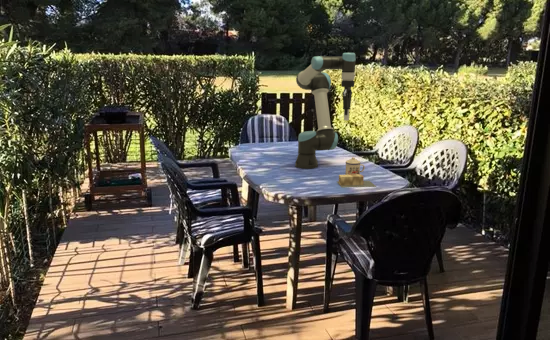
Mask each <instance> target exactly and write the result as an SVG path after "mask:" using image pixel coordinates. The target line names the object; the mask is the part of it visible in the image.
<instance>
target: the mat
mask: <svg viewBox="0 0 550 340" xmlns="http://www.w3.org/2000/svg"><path fill="white" fill-rule="evenodd" d="M336 183H337V184H338V186H340V187H341V188H342V189H345V188H377V185H375V183H373V182H372V181H370V180H363V185H347V186H341V185H340V184H339V180H338V181H336Z"/></svg>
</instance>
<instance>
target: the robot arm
mask: <svg viewBox="0 0 550 340" xmlns="http://www.w3.org/2000/svg"><path fill="white" fill-rule="evenodd" d="M356 59H357V58H356V53H355V52H343V53H342V55H341V56H324V55H323V56H322V55H320V56H319V55H317V56H312V58H311V61H310V65H309V66H307V67H306V68H305V69H304V70H302V71H299V73H297V74H296V77H295V78H296V79H295V80H296V81H295V82H296V84H297V86H298V88H300V89H302V90H306V91H311V94H312V95H314V102H315V103H314V104H315V113H316V120H317V122H316V123H317V128H318V129H317V130H316V131H315V130H308V131H307V130H306V131H301V132H300V133H299V134H298V137H297V138H298V139H297V140H298V143H297V145H298V146H297V147H298V148H297V157H296V161H295V163H294V164H295V168H298V169H307V170H309V169H316V168H318V165H319V164H318V163H319V162H318V159H317V156H316V152H317V151H331V150H335V149H336V147H337V146H338V142H339V136H338V133H337V132H336V131H334V128H333V127H332V126H331V118H330V117H331V116H330V115H331V114H330V109H329V101H328V93H329V92H330V89H331V87H332V79H331V76H330V75H329V73H327V72H323V71H324V70H341V82H340V83H341V85H340V86H341V87H342V88H344V89H343V92H342V107H343V108H342V109H343V121H347V122H348V121H350V110H351V109H352V108H351V104H352V96H353V95H352V94H353V91H352V88H354V87H355V79H356V77H355V76H356Z"/></svg>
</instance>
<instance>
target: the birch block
mask: <svg viewBox="0 0 550 340" xmlns="http://www.w3.org/2000/svg"><path fill="white" fill-rule="evenodd" d="M364 179H365V177H364V175H363V174H361V173H360V174H356V175H345V174H338V181H339V184H340V185H341V186H347V185H363V181H365V180H364ZM339 184H338V185H339ZM340 185H339V186H340ZM341 186H340V187H341Z"/></svg>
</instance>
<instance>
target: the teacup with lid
mask: <svg viewBox="0 0 550 340" xmlns="http://www.w3.org/2000/svg"><path fill="white" fill-rule="evenodd" d="M361 166H362V167H363V168H362V170H361ZM365 168H366V167H365V165H364V164H363V163H361V161H360V160H357V159H356V157H352V156H351V158H350V159H347V160H346V161H345V174H344V175H356V174H361V173H363V172H364V170H365Z"/></svg>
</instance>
